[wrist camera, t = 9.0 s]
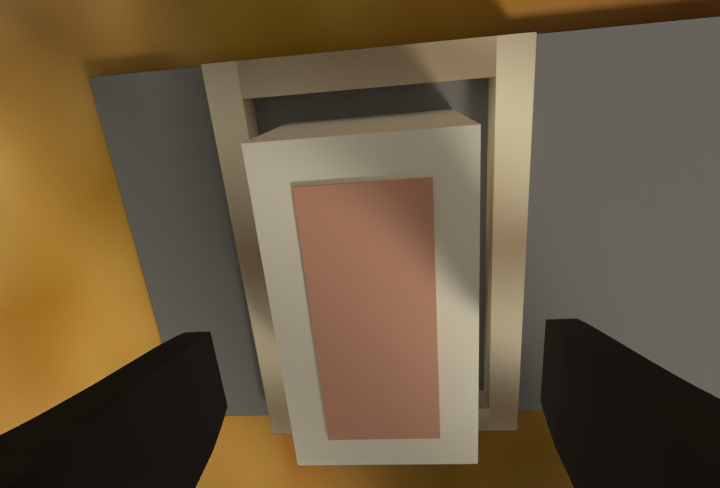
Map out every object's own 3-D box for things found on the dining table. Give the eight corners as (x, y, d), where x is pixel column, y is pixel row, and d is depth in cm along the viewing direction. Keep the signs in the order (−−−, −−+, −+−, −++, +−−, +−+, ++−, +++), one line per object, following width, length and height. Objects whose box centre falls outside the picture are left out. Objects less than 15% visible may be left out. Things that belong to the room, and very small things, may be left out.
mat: (1129, 388, 15) (1152, 398, 15) (188, 408, 19) (183, 416, 18) (1406, -49, 11) (1451, -55, 10) (98, 77, 14) (88, 77, 14)
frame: (510, 410, 17) (517, 430, 16) (278, 414, 18) (272, 433, 17) (525, 35, 12) (536, 31, 11) (214, 65, 13) (200, 64, 12)
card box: (287, 123, 14) (239, 144, 9) (452, 109, 13) (481, 125, 9) (321, 367, 17) (297, 468, 12) (456, 363, 16) (478, 467, 12)
